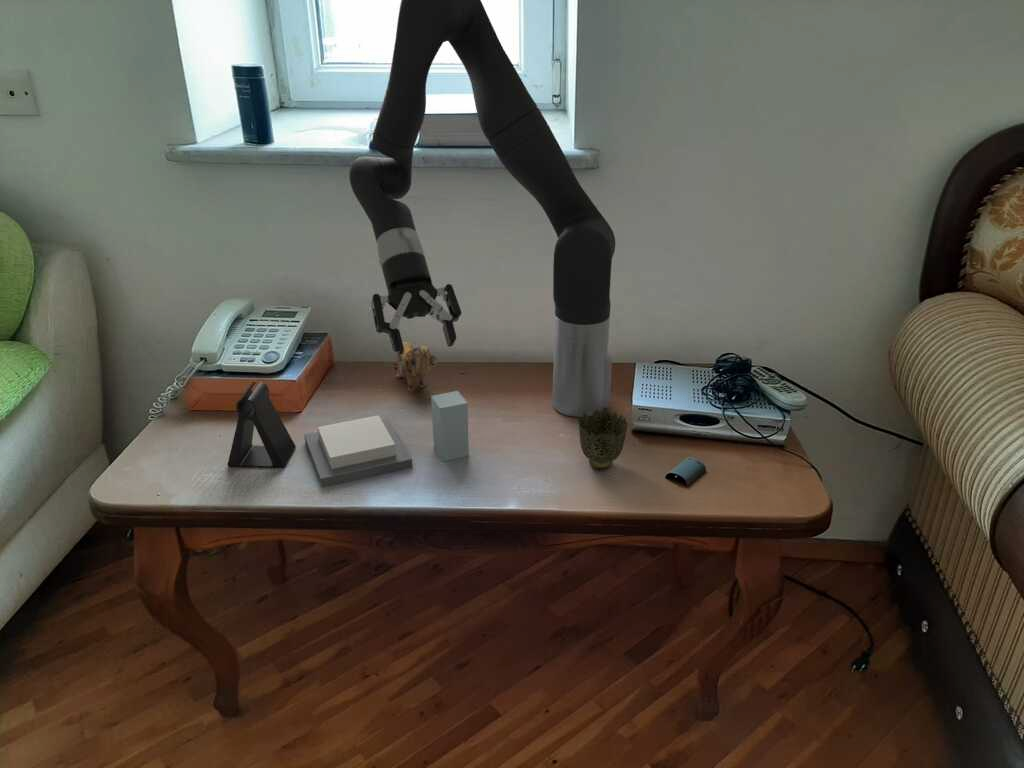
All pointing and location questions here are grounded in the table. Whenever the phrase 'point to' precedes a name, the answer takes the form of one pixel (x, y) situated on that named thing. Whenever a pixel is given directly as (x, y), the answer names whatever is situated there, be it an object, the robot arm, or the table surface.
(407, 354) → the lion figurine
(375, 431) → the display stand
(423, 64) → the robot arm
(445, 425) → the blue-grey block
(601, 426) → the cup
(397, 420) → the table surface
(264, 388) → the black phone stand
